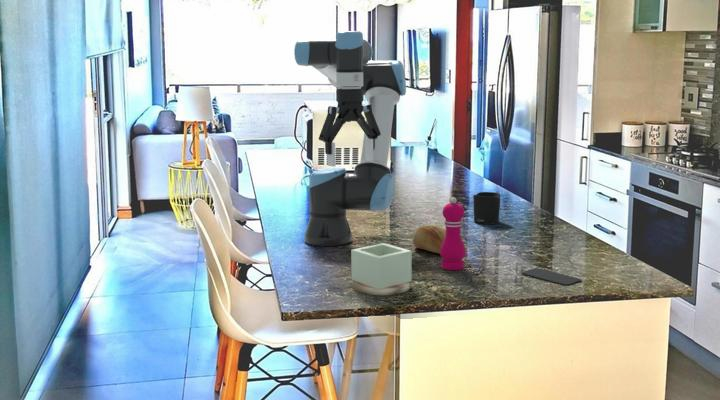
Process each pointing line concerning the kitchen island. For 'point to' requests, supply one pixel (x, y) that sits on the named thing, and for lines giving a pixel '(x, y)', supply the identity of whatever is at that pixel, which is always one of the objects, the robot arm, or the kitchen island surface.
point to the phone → (551, 276)
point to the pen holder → (486, 207)
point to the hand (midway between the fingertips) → (350, 163)
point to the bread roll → (429, 238)
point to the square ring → (381, 265)
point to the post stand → (384, 291)
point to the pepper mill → (453, 237)
